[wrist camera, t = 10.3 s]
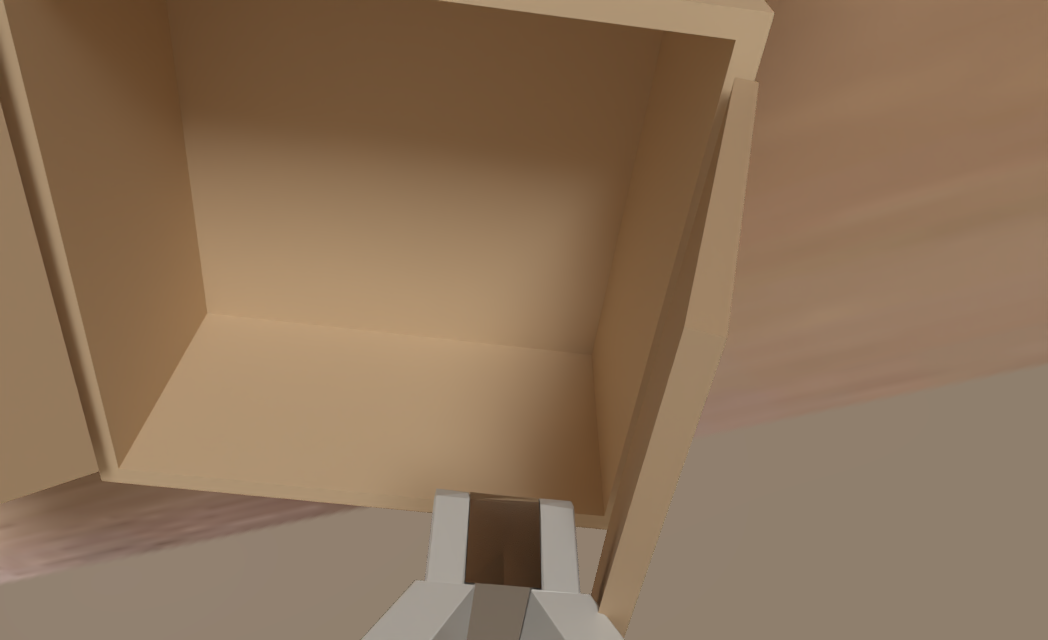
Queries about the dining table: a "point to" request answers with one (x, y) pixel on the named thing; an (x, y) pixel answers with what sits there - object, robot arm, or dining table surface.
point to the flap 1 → (33, 358)
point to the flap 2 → (680, 367)
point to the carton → (368, 231)
